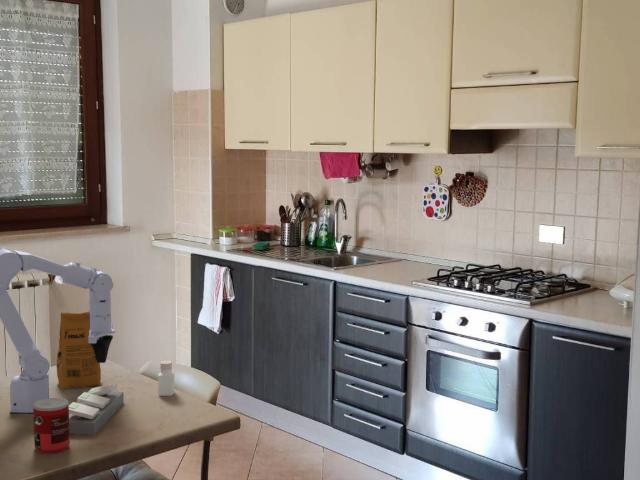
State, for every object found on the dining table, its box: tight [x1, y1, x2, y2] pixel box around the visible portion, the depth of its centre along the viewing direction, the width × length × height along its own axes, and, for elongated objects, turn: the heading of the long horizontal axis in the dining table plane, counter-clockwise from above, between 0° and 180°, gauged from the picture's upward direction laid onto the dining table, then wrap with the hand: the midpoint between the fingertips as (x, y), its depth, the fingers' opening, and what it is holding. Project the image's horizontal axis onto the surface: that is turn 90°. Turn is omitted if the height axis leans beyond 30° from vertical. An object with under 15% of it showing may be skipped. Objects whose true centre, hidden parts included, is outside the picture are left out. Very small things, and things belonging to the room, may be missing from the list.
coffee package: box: [56, 310, 102, 390], centre depth 234 cm, size 10×12×22 cm
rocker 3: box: [69, 401, 100, 420], centre depth 200 cm, size 7×5×2 cm
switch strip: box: [69, 391, 125, 435], centre depth 210 cm, size 9×28×3 cm, turn 177°
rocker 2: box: [76, 391, 110, 408], centre depth 208 cm, size 7×5×2 cm
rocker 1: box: [87, 383, 118, 397], centre depth 216 cm, size 7×5×2 cm
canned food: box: [32, 397, 71, 454], centre depth 187 cm, size 8×8×11 cm
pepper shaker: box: [157, 360, 175, 397], centre depth 227 cm, size 4×4×10 cm
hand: (101, 362), depth 222 cm, fingers closed
